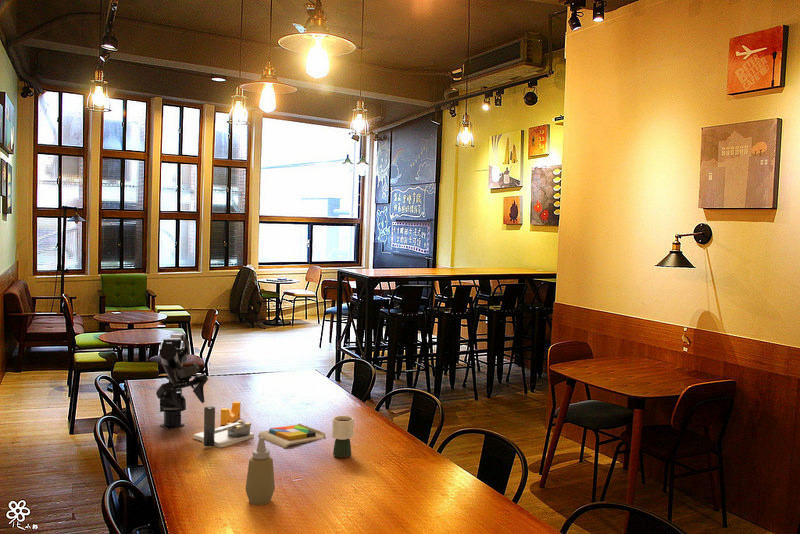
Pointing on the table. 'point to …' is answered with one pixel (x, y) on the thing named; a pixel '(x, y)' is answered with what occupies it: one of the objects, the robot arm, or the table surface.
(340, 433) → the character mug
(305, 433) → the wooden puzzle
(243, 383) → the table surface
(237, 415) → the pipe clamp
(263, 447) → the squeeze bottle
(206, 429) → the dark cylinder with bar
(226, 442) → the cap plate
